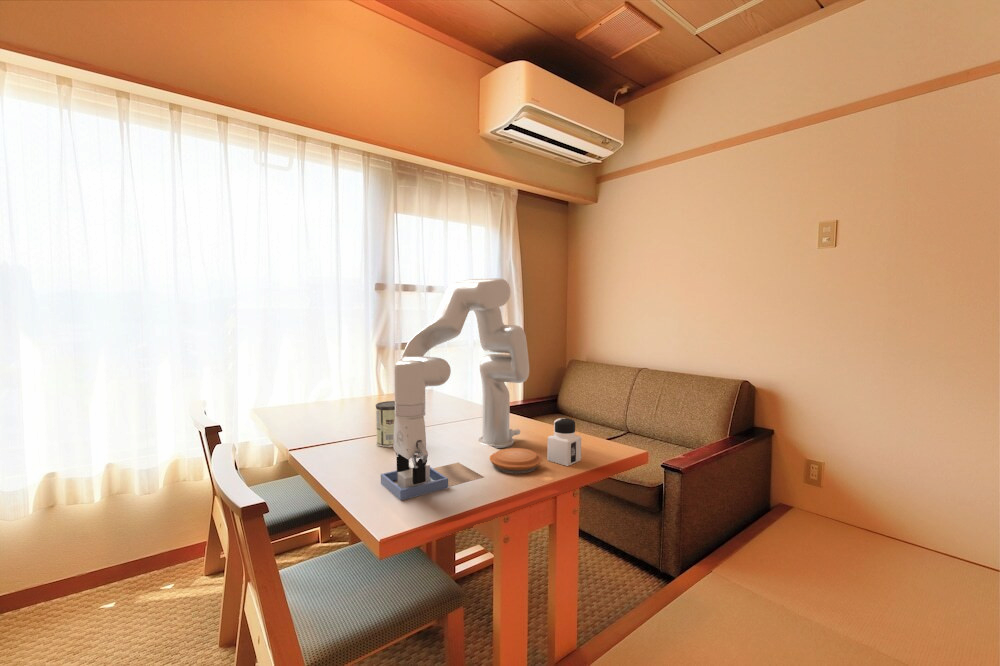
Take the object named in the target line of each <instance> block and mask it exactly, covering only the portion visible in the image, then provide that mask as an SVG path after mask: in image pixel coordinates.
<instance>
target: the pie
mask: <svg viewBox="0 0 1000 666" xmlns="http://www.w3.org/2000/svg"><path fill="white" fill-rule="evenodd" d="M489 461H490V463H491V464H492V465H493V466H494V468H495V469H496V470H498V471H500V472H503V473H506V474H507V473H509V474H526V473H530V472H533V471H534V470H537V468H538V466H539V465H540V464H541V463H542V462H543V457H542V456H541V455H540V454H539V453H537V452H535V451H533V450H531V449H527V448H521V447H512V448H509V447H508V448H502V449H499V450H497V451H496V452H494V453H492V454H491V455H490V456H489Z"/></svg>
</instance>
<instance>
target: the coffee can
mask: <svg viewBox="0 0 1000 666" xmlns="http://www.w3.org/2000/svg"><path fill="white" fill-rule="evenodd" d="M375 411H376V412H375V414H376V415H375V418H376V419H375V420H376V421H375V422H376V425H375V426H376V428H375V430H376V446H378V447H380V446H382V447H381V448H394V447H393V444H394V423H395V400H388V401H387V400H386V401H380V402H378V403H375Z"/></svg>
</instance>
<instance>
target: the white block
mask: <svg viewBox="0 0 1000 666" xmlns="http://www.w3.org/2000/svg"><path fill="white" fill-rule="evenodd" d="M416 461H417V462H418V460H416ZM430 467H431V465H430V464H429V463H426V481H425V482H424V483H428V482H431V478H430ZM413 468H414V465H413V461H411V462H410V461H409V470H411V469H413Z"/></svg>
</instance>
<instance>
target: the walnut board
mask: <svg viewBox="0 0 1000 666" xmlns="http://www.w3.org/2000/svg"><path fill="white" fill-rule="evenodd" d="M432 468H433V469H434V470H436V471H437V472H439V473H441V474H442V475H444V476H445V477H447V478H448V487H453V486H456V485H460V484H464V483H468V482H471V481H475V480H479V479H482V478H484V476H483V475H481V474H480V473H478V472H476V471H474V470H473V469H471V468H469V467H467V466H466V465H464V464H461V463H460V462H455V463H451V464H450V463H449V464H447V465H441V466H438V467H432Z"/></svg>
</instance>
